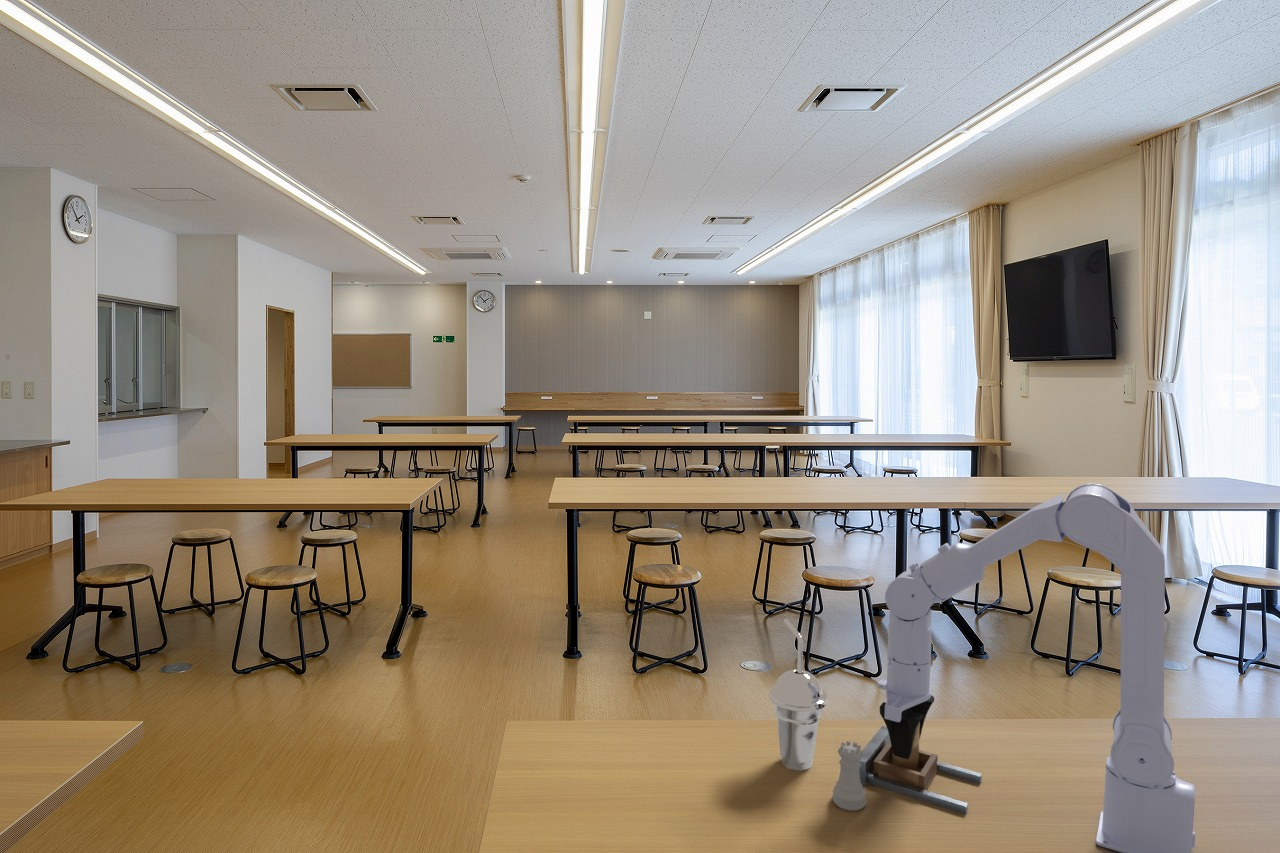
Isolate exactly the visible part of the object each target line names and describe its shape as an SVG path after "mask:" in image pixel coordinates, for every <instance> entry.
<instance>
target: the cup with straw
mask: <svg viewBox="0 0 1280 853" xmlns="http://www.w3.org/2000/svg"><path fill="white" fill-rule="evenodd" d="M783 623H784V624H785V625H786V626H787V627H788V629H789V631H791V632H792V633H793V635H794V636H795V637H796V639H797V661H796V662H797V666H796V667H797V668H795V669H793V668H792V669H790V670H787V671H785V672H783V673H782V674H781V675H780V676H779V677H778V678H777V681H776V682H775V684H774V685H773V686H771V687H770V689H769V692H768V693H769V694H768V699H769V701H770V702H771V703H772V704H773V705H774V707H773V708H774V711H775V716H776V721H777V722H776V723H777V732H778V742H779V743H778V744H779V750H780V752H779V753H780V756H781V760H780V763H781V764H782V765H783V766H784V767H785V768H787V769H789V770H793V771H807V770H810V769H811V768H812V767H813V759H814V758H815V751H816V750H815V749H816V745H817V744H816V743H817V736H818V729H819V723H820V722H819V721H820V720H821V715H822V713H823V709H824V708H825V707H826V706H827V705H828V704H829V699H828V698H829V697H828V694H827V692H826V691H825V690H824V689H823V688H822V685H821V683H820V681H819V679H818V678H816V676H815V675H814V674H813V673H811V672H809V671H807V670H804V669H803V657H804V656H803V653H804V652H803V650H804V649H803V647H804V640H803V636H802V634H801V633H800V632H799V631H798V630H797V628H796V627H795V626H794V625H793V624H792V622H791V621H790V620H789V618H784V619H783Z"/></svg>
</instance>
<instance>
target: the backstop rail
mask: <svg viewBox="0 0 1280 853" xmlns="http://www.w3.org/2000/svg"><path fill="white" fill-rule="evenodd" d="M888 741H890V737H889V732H888V729H887V726H886V725H884V726H883V725H881V726H880V728H879V729H878V730H877V731H876V733H875V734H874V735H873V736H872V738H871V739H870V740H869V742H867V744H866V745H865V747H864V748H863V749H862V750H861V751H862V753H863V756H862V758H861V759H860V760H859V762H860V763H861V767H860V768H859V773H860V782H861V784H862V786H863V788H865V787H866V786H867V785H872V786H876V787H878V788H881V789H884V790H887V791H891V792H894V793H897V794H900V795H903V796H904V795H905V796H908V797H910V798H913V799H916V800H920V801H924V802H926V803H929V804H933V805H935V806H939V807H942V808H945V809H947V810H951V811H955V812H958V813H961V814H965V815H967V813H968V811H969V803H968V802H965V801H962V800H958V799H955V798H953V797H949V796H945V795H942V794H938V793H935V792H933V791H929V790H923V789H920V788H916V787H913V786H910V785H907V784H903V783H900V782H897V781H894V780H890V779H887V778H884V777H881V776H877V775H874V774H873V761H874V760H875V759H876V757H877V756H878V755H879V753H880V752H881V751H882V749H883V748H884V747H885V745H886V744H887V743H888ZM890 742H891V741H890ZM938 772H939V773H941V774H946V775H949V776H952V777H955V778H960V779H961V780H967V781H970V782H973V783H977V784H979V785H980V784H982V781H983V774H982V773H981V772H978V771H973V770H970V769H967V768H963V767H960V766H956V765H953V764H950V763H949V764H948V763H945V762H941V761H939V760H937V773H938Z"/></svg>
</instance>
